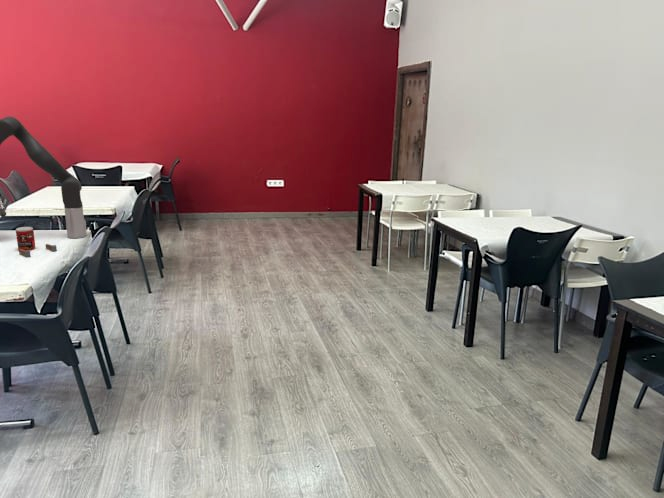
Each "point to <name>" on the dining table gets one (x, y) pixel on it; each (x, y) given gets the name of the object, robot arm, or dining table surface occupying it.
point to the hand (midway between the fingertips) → (4, 215)
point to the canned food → (25, 238)
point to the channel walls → (22, 252)
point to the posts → (27, 253)
